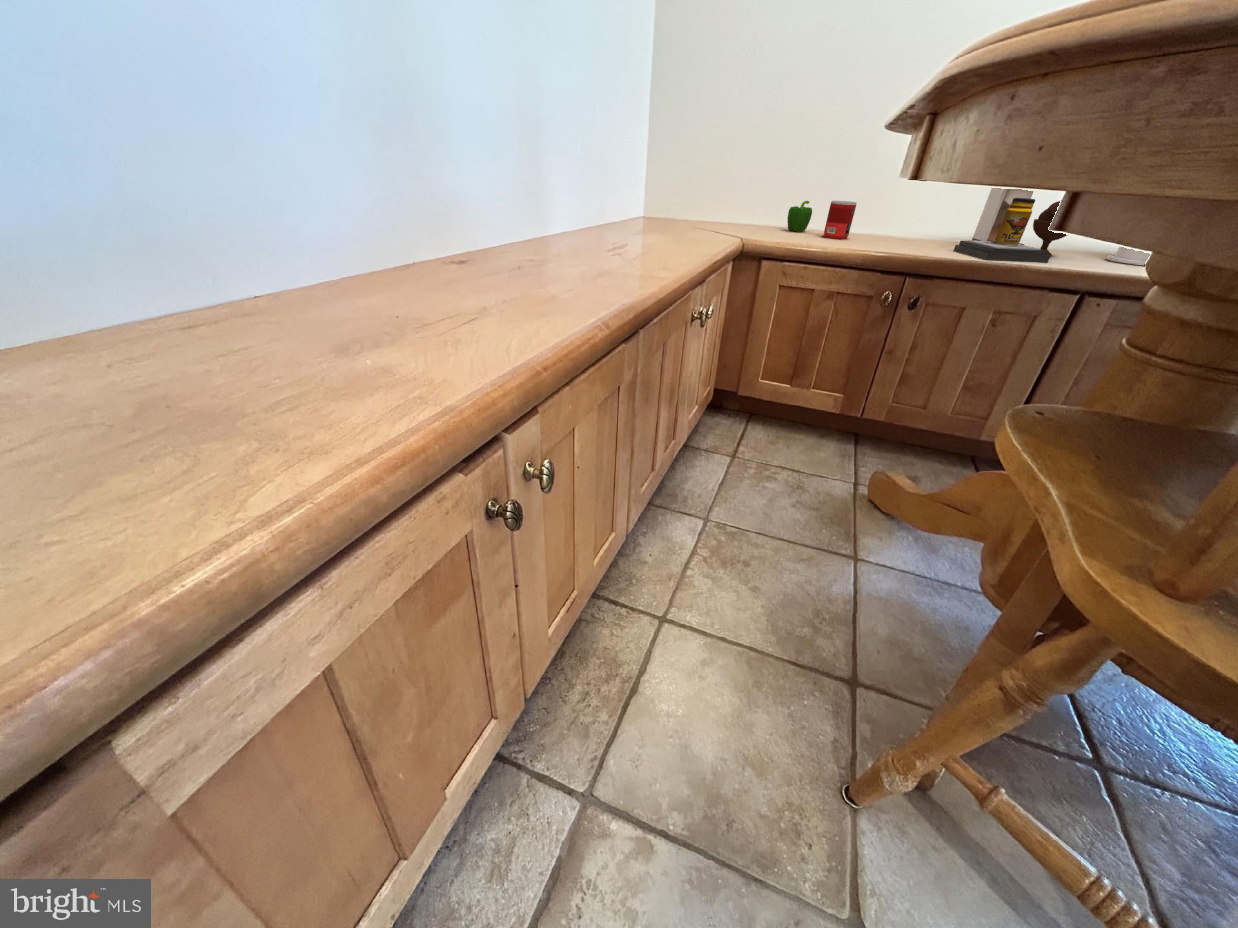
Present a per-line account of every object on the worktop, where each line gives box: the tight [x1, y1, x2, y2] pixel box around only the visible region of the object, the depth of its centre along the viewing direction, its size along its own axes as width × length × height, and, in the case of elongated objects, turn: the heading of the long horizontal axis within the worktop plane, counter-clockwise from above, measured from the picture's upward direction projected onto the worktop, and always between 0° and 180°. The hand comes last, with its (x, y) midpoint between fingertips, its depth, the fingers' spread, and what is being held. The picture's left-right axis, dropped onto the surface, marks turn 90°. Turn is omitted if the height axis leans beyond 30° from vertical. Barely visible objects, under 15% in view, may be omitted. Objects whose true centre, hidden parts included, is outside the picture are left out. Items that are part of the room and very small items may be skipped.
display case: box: [971, 187, 1034, 245], centre depth 156 cm, size 11×11×35 cm
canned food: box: [823, 200, 858, 240], centre depth 167 cm, size 8×8×11 cm
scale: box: [953, 240, 1052, 264], centre depth 147 cm, size 18×16×3 cm
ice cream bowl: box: [1032, 200, 1068, 257], centre depth 150 cm, size 11×11×15 cm
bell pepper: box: [787, 200, 813, 233], centre depth 179 cm, size 8×8×10 cm
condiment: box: [982, 198, 1036, 246], centre depth 144 cm, size 7×8×12 cm
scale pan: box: [967, 239, 1041, 250], centre depth 146 cm, size 13×13×1 cm
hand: (1064, 154), depth 134 cm, fingers open, 9 cm apart
